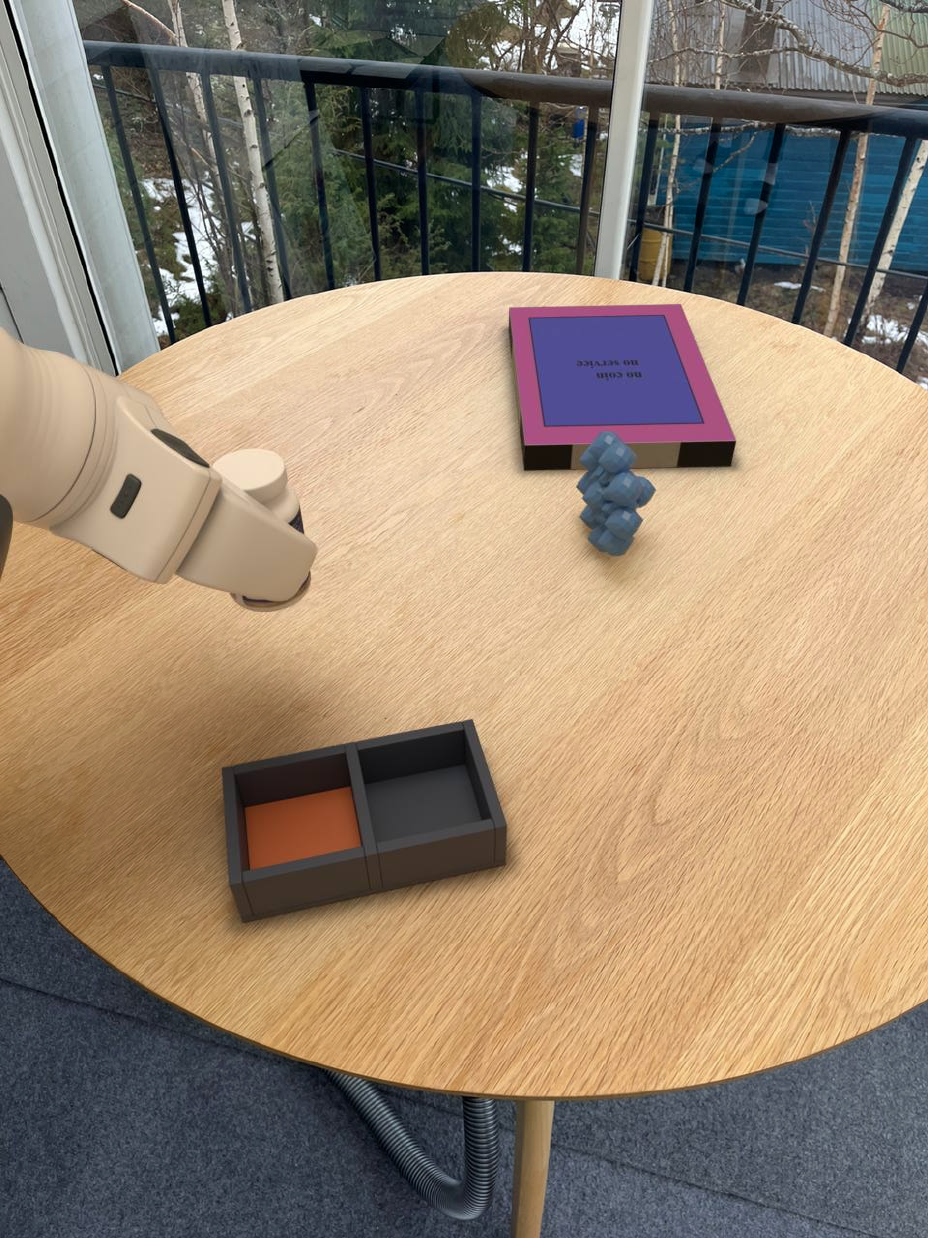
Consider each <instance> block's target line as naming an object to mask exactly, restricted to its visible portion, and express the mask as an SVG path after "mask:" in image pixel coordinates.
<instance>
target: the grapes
mask: <svg viewBox="0 0 928 1238" xmlns="http://www.w3.org/2000/svg"><path fill="white" fill-rule="evenodd" d="M636 459H637V456H636V455H635V453H634V452H633V451H632V450H631V449H630V447H628V446H627V445H625V444H624V443H623V441H622V440H621V439H620V438H619V436H617V435H616V434H615V433H613V432H610V431H603V432H602V433H600V434H598V436H597V437H596V438H595V439H594V441H593V442H592V443H591V445H590V446H589V447H588V448H587V449H586V451H585V452H584V453H583V455H582V456H581V458H580V460H579V461H580V462H581V463H582V464H583V466H584V467H585V468H586V469H585V470H587V471H585V472H584V474H583V475H582V477H581V478H580V479H579V481H578V482H577V484H576V486H575V487H576V489H577V490H578V491H579V492H580V493H581V494H582V497H581V499H582V501H583V502H584V503H585V504H586V506H585V507H584V508H583V509H582V512H581V513H580V514H579V517H578V518H579V519H580V520H581V521H582V522H583V523H584V525H585V526H586V527H588V528H589V529H590V530H591V531H590V533H589V535H588V536H587V541H588V542H589V544H591V545H592V546H593V547H594V549H596V550H597V551H598V552H601V553H605V554H608V555H609V556H611V557H617V558H618V557H621V556H623V555H625V554H626V552H627V551H628V550H630V548H631V546H632V544H633V542H634V541H635V539H636V538H635V537H634V535H635V534H637V531H639V529H640V527H641V525H642V524H643V522H644V519H643V517H641V515H640V514H639V513H638V512H637V509H638V508H639V509H641V508H643V507H645V506H647V505H648V503H649V502H650V501H652V500H651V499H652V498H653V496H654V495H655V493H656V491H657V489H656V487H655V486H654V485H653V484H652V483H651V481H650V480H649V479H647V478H646V477H644V476H640V475H636V474H635V472H633V471H632V470H631V469H632V468H631V467H632V466H633V464H634V463H635V461H636Z"/></svg>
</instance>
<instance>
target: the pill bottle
mask: <svg viewBox="0 0 928 1238" xmlns="http://www.w3.org/2000/svg"><path fill="white" fill-rule="evenodd" d="M211 467H212V468H213V469H214V470H216V471H217V472H218V473H220V474H221V475H222V476H224V477H225V478H227V479H228V480H229V481H231V482H232V483H233V484H235V485H236V486H237V487H239V488H240V489H241V490H243V491H244V492H246V493H247V494H248V495H250V496H251V497H252V498H254V499H255V500H256V501H258V502H259V503H260V504H262V505H263V506H265V507H266V508H267V509H269V510H270V511H271V512H273V513H274V514H275V515H277V516H278V517H279V518H281V519H282V520H284V521H285V522H286V523H288V524H289V525H290V526H292V527H294V528H296V529H297V530H298V531H300V532H301V533H303V534H304V535H305V536H306V534H305V528H304V521H303V515H302V510H301V504H300V499H299V496H298V494H297V492H296V490H294V488H293V487H292V486H291V484H289V483H288V481H289V478H288V477H289V476H288V472H287V467H286V463H285V460H284V459H283V457H282V456H281V455H279V454H278V453H277V452H274V451H272V450H269V449H265V448H245V449H239V450H235V451H231V452H230V453H227V454H225V455H223V456H221V457H220V458H218V459H217V460H216V461H215V462H214V463H213V464H212V466H211ZM311 584H312V572H311V570H310V571H309V573H308V575H307V577H306V578H305V580H304V582H303V583H302V585H301V587H300V588H299V590H298V591H297V592H296V593H295V595H294V596H292V597H291V598H290V599H288V600H286V601H270V600H264V599H259V598H253V597H248V596H243V595H238V594H233V593H229V596H230V598H231V599H232V600H233V602H235V603H236V604H237V605H238V606H240V607H241V608H243V609H245V610H248V611H252V612H254V613H255V612H257V613H273V612H278V611H282V610H285V609H288V608H290V607H292V606H294V605H295V604H296V603H298V602H299V601H301V600H302V599H303V598H304V597H305V596H306V594H307V593H308V592H309V590H310V588H311Z"/></svg>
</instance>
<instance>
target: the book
mask: <svg viewBox="0 0 928 1238" xmlns="http://www.w3.org/2000/svg"><path fill="white" fill-rule="evenodd" d="M508 337H509V347H510V356H511V365H512V373H513V374H512V375H513V383H514V393H515V401H516V409H517V410H516V411H517V420H518V428H519V429H518V430H519V438H520V448H521V457H522V467H523V471H557V470H559V471H562V470H587V469H586V468H585V467H584V466H583V464H582V463H581V462H580V461H579V460H580V458H581V456H582V455H583V453H584V452H585V451H586V449H587V448H588V447H589V446H590V445H591V443H592V442H593V441H594V439H595V438H596V437H597V436H598V434H600V433H602V432H603V431H610V432H613V433H615V434H616V435H617V436H619V438H620V439H621V440H622V441H623V443H624V444H625V445H627V446H628V447H630V449H631V450H632V451H633V452H634V453H635V455H636V456H637V459H636V461H635V463H634V464H633V466H632V467H631V468H630V469H653V468H654V469H660V468H701V467H702V468H703V467H704V468H705V467H706V468H707V467H711V468H712V467H732V463H733V459H734V453H735V449H736V446H737V445H736V444H737V438H736V436H735V433H734V431H733V428H732V427H731V423H730V421H729V419H728V416H727V414H726V412H725V408H724V406H723V404H722V402H721V399H720V397H719V395H718V392H717V390H716V387H715V384H714V382H713V380H712V377H711V374H710V373H709V369H708V366H707V365H706V362H705V360H704V357H703V355H702V352H701V350H700V347H699V345H698V343H697V340H696V338H695V335H694V332H693V330H692V328H691V325H690V323H689V320H688V318H687V315H686V313H685V311H684V307H683V305H682V303H663V304H662V303H659V304H658V303H657V304H611V305H565V306H564V305H563V306H562V305H561V306H560V305H559V306H516V307H515V306H513V307H511V306H510V307H508Z"/></svg>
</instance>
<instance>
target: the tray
mask: <svg viewBox="0 0 928 1238" xmlns="http://www.w3.org/2000/svg"><path fill="white" fill-rule="evenodd" d="M492 777H493V776H492V774H491V771H490V768H489V765H488V762H487V759H486V756H485V753H484V749H483V747H482V743H481V739H480V736H479V734H478V731H477V728H476V724H475V722H474V719H473V718H470V719H469V718H468V719H463V720H459V721H454V722H448V723H444V724H439V725H434V726H429V727H423V728H419V729H413V730H408V731H402V732H398V733H397V732H396V733H393V734H388V735H383V736H377V737H371V738H367V739H366V738H365V739H362V740H356V741H350V742H345V743H340V744H335V745H330V746H325V747H319V748H313V749H309V750H303V751H299V752H294V753H288V754H283V755H278V756H273V757H268V758H264V759H257V760H252V761H247V762H242V763H236V764H233V765H228V766H223V767H221V783H222V784H221V785H222V796H223V797H222V798H223V810H224V811H223V813H224V825H225V826H224V827H225V840H226V841H225V842H226V843H225V844H226V854H227V855H226V857H227V869H228V870H227V872H228V885H229V888H230V890H231V894H232V897H233V899H234V902H235V904H236V908H237V911H238V913H239V916H240V920H241V922H242V923H248V922H252V921H253V922H254V921H257V920H261V919H265V918H271V917H275V916H279V915H284V914H287V913H288V914H289V913H294V912H298V911H303V910H307V909H311V908H316V907H321V906H324V905H329V904H334V903H338V902H342V901H347V900H351V899H357V898H361V897H366V896H369V895H374V894H379V893H384V892H388V891H392V890H397V889H401V888H406V887H411V886H414V885H420V884H424V883H428V882H434V881H437V880H438V881H439V880H442V879H446V878H452V877H456V876H460V875H461V876H462V875H464V874H470V873H474V872H478V871H484V870H487V869H491V868H496V867H502V866H506V865H507V839H508V824H507V821H506V818H505V815H504V812H503V809H502V805H501V802H500V799H499V796H498V793H497V790H496V787H495V784H494V781H493V778H492Z"/></svg>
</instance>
